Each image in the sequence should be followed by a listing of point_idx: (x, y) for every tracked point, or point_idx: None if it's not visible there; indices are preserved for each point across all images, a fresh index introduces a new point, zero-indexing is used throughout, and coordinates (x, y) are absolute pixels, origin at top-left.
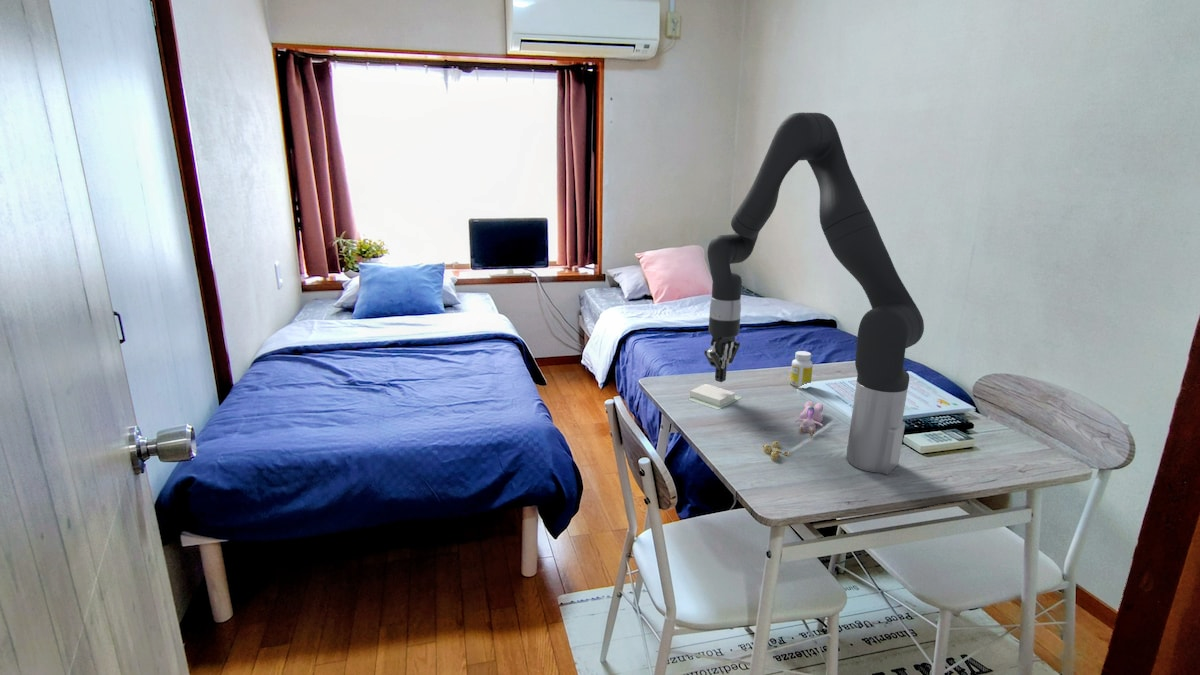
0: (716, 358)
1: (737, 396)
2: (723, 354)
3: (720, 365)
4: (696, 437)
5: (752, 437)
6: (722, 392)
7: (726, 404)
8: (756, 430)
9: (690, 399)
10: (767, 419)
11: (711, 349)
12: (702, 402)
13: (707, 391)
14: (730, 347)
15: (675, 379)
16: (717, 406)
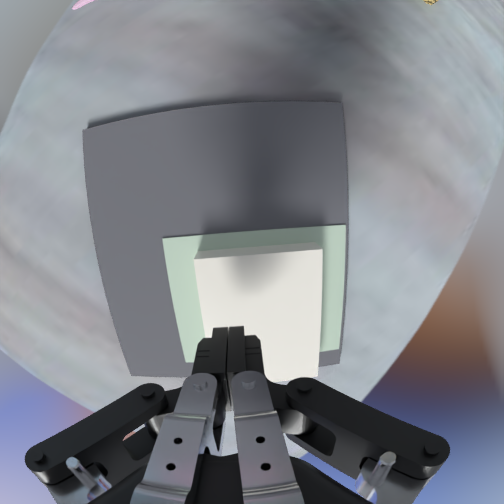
0: (376, 429)
1: (170, 257)
2: (287, 456)
3: (301, 388)
4: (494, 165)
5: (405, 41)
6: (236, 297)
7: (278, 234)
8: (362, 45)
9: (334, 344)
10: (255, 54)
11: (417, 494)
12: (329, 305)
13: (278, 339)
14: (185, 498)
15: None
16: (323, 245)
